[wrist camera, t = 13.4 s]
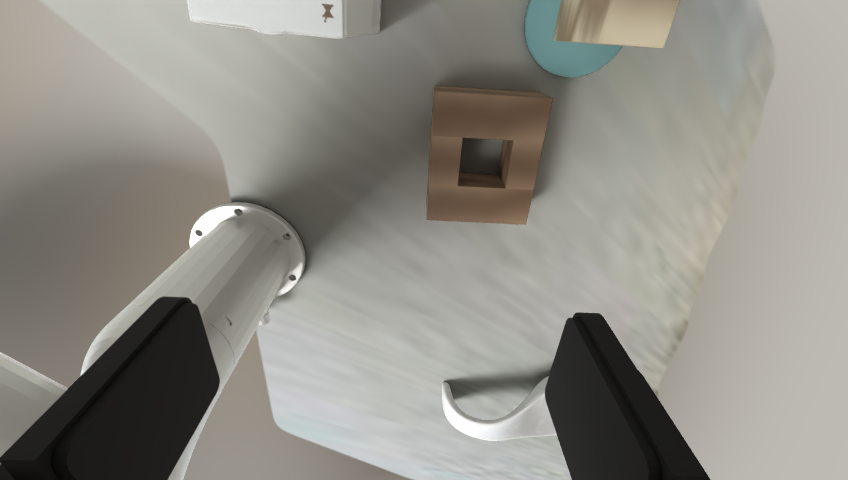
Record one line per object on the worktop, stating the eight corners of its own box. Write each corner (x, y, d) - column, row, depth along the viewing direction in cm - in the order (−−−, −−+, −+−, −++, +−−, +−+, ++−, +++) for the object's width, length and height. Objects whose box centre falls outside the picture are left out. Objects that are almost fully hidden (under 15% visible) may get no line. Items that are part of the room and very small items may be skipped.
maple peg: (597, 44, 32) (663, 48, 24) (552, 40, 32) (601, 43, 23) (612, -11, 30) (689, -30, 22) (564, -16, 30) (622, -35, 22)
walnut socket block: (517, 208, 41) (526, 224, 37) (426, 203, 41) (427, 219, 37) (539, 92, 35) (552, 98, 32) (434, 85, 35) (435, 91, 31)
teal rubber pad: (611, 79, 35) (616, 80, 34) (516, 73, 34) (518, 74, 33) (645, -41, 30) (651, -43, 29) (535, -49, 30) (539, -52, 29)
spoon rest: (607, 355, 52) (633, 398, 46) (594, 409, 58) (615, 455, 52) (440, 363, 53) (442, 407, 47) (443, 416, 59) (446, 462, 52)
